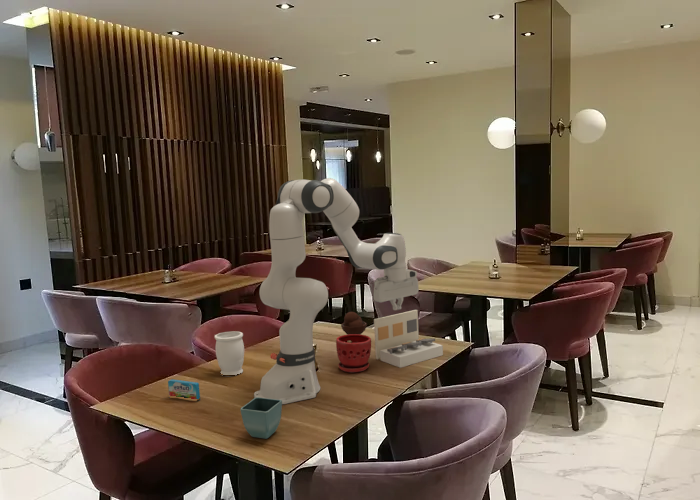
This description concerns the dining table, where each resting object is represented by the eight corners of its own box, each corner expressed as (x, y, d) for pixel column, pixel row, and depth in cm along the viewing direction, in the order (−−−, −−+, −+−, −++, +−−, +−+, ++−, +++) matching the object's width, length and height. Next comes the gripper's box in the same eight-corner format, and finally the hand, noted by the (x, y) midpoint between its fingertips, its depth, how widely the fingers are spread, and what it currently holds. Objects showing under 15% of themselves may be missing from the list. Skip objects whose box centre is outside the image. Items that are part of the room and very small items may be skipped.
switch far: (427, 342, 219) (427, 340, 219) (416, 342, 224) (415, 340, 224) (435, 340, 221) (434, 338, 221) (423, 340, 227) (423, 338, 227)
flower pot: (269, 443, 151) (267, 411, 150) (241, 439, 155) (239, 408, 154) (284, 429, 159) (282, 399, 158) (258, 426, 163) (255, 396, 162)
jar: (212, 376, 209) (209, 337, 207) (226, 367, 218) (223, 330, 217) (237, 378, 205) (234, 338, 204) (250, 369, 215) (247, 331, 213)
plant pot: (351, 377, 200) (349, 344, 199) (330, 368, 211) (329, 338, 209) (379, 368, 208) (378, 337, 206) (358, 361, 218) (356, 331, 217)
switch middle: (413, 346, 214) (413, 344, 214) (402, 346, 220) (401, 343, 220) (421, 344, 217) (420, 342, 217) (409, 344, 222) (409, 341, 222)
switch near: (398, 349, 210) (397, 347, 210) (387, 351, 216) (387, 349, 216) (406, 347, 212) (405, 345, 212) (395, 349, 218) (394, 346, 218)
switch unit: (400, 367, 208) (398, 325, 206) (375, 358, 220) (373, 319, 218) (442, 355, 220) (441, 315, 218) (417, 347, 232) (415, 309, 231)
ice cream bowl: (368, 348, 235) (366, 313, 233) (341, 349, 235) (339, 314, 233) (367, 341, 245) (366, 308, 243) (342, 342, 245) (340, 309, 244)
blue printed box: (169, 398, 189) (167, 380, 189) (172, 396, 191) (170, 379, 190) (197, 402, 184) (195, 384, 183) (200, 400, 186) (198, 382, 185)
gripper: (379, 279, 205) (381, 316, 207) (420, 271, 217) (421, 306, 219) (368, 277, 211) (371, 313, 212) (409, 269, 222) (411, 303, 224)
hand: (397, 309), depth 216 cm, fingers closed
